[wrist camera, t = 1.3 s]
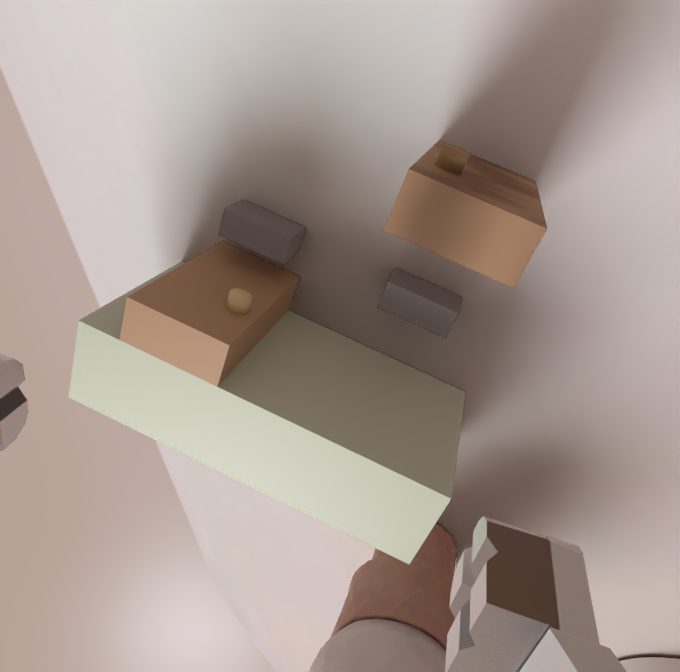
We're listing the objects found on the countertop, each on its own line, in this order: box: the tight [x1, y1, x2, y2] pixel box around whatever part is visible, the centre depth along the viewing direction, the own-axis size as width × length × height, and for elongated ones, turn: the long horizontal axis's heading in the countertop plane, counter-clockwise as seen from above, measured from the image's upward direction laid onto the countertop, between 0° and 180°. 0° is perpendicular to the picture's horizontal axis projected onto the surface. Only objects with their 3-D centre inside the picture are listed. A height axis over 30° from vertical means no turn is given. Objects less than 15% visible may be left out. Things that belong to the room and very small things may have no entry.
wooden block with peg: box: [384, 141, 547, 288], centre depth 30 cm, size 6×4×12 cm, turn 70°
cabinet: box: [69, 199, 466, 564], centre depth 37 cm, size 24×13×12 cm, turn 70°
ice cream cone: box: [309, 524, 456, 672], centre depth 41 cm, size 11×11×20 cm
